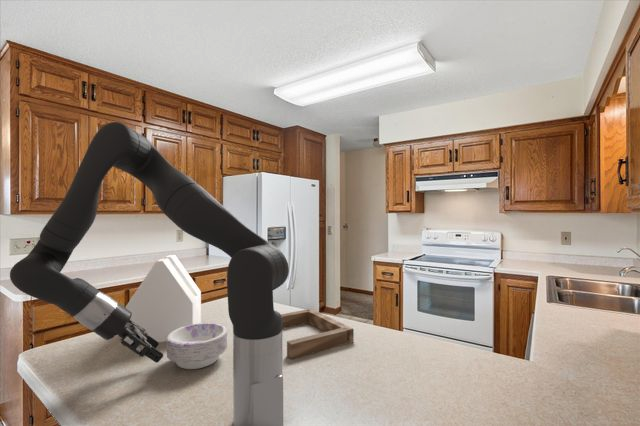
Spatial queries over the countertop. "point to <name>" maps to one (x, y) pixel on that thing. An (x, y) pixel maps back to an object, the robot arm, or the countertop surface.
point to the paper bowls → (196, 345)
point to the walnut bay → (318, 342)
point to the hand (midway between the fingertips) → (158, 352)
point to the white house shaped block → (166, 299)
